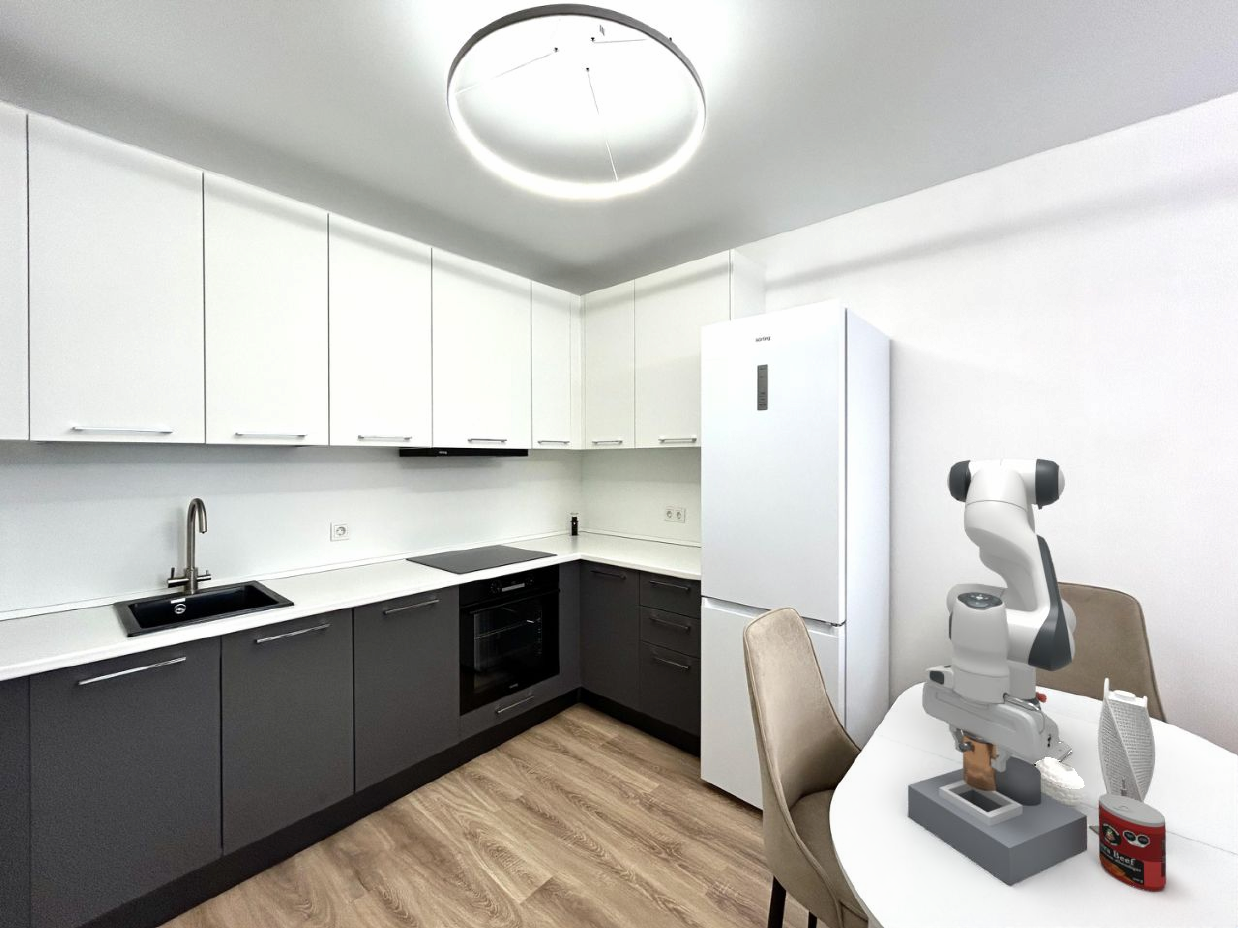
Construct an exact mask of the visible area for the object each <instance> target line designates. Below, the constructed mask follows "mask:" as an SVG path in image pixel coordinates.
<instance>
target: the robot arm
mask: <svg viewBox="0 0 1238 928" xmlns="http://www.w3.org/2000/svg"><path fill="white" fill-rule="evenodd" d="M949 469H950V470H949V473H948V474H947V479H946V484H947V488H948V490H949V494H950V496H951V497H952V498H953V499H955V500H956V501H959V502H961V503H964V504H965V505H964V513H963V514H964V515H963V525H964V527H963V528H964V532H965V534H966V536H967V538H968V539H969V540H970V541H971V542H972V543H973V544H974V545H975V546H977V547H978V550H979V552H978V554H979V555H978V556H979V559H980V561H981V563H982V564H983V565H984V566H985V567H986V568H987V569H988V570H990V571H992V572H994V573H995V574H998V575H999V576H1000V577H1001V578H1002V579H1003V580H1004V582H1005V583H1006V587H1002V586H1001V587H1000V586H995V585H989V584H982V583H957V584H955V585H954V586H953V587H951V588H950V590H949V591H948V593H947V595H946V600H945V601H946V607H947V610H948V612H949V616H948V617H949V618H948V639H950V641H951V644H952V647H953V654H952V657H951V660H950V664H945V665H936V666H932V667H928V668H926V669H925V670H924V676H925V678H926V680H925V682H924V683H923V686H922V687H923V688H922V696H921V698H922V699H921V701H922V702H921V703H922V708H923V710H924V712H925V714H927V715H929V716H930V717H933V718H935V719H937V720H940V721H942V722H944V723H946V724H947V725H948V731H949V732H950V734H951V736H952V738H953V740H954V748H955V750H956V751H957V752H959V753H962V754H963V752H962V751H961V750H960V749H959V744H960V743H963V733H962V730H964V731H966V732H969V733H971V734H973V735H975V736H977V737H979V738H982V739H984V740H985V741H987V742H989V743H991V744H993V745H995V746H996V754H1000V755H999V757H995V758H991V763H992V764H991V767H992V768H993V769H995V770H997V771H999V772H1003V771H1005V769H1006V761H1007V760H1008V759H1009V758H1010V756H1012V757H1016V758H1019V759H1022V760H1024V761H1026V762H1028V763H1030V764H1032V765H1034V764H1035V763H1036V762H1037V761H1039V760H1042V759H1044V758H1045V757H1051V758H1055V759H1057V760H1062V761H1063V760H1064V759H1065V758H1066V757H1067V756H1068V753H1069V752H1070V751H1071V750H1072V751H1073V748H1072V746H1070V744H1068V743H1066V742H1065V741H1063V740H1061V739H1060V731H1059V725H1058V724H1057V723H1056V722H1055V721H1054V720H1053V719H1052V718H1051V717H1049V716H1048V715H1047V714H1046V713H1045V712H1044V711H1043V710H1042V707H1041V703H1043V704H1045V703H1046V702H1047V699H1048V697H1047V695H1046V694H1044V693H1041V692H1038V691H1037V690H1036V689H1037V688H1036V684H1037V678H1036V677H1037V676H1036V675H1037V672H1036V671H1037V669H1036V668H1038V669H1041V670H1045V671H1047V672H1054V671H1058V670H1061V669H1063V668H1066V666H1068V665H1071V663H1073V660H1074V657H1075V653H1076V643H1075V639H1074V636H1073V635H1074V631H1075V630H1076V628H1077V618H1076V614H1075V612H1074V609H1073V608H1072V607H1071V605H1070V604H1069V603H1068V602H1067V601H1066V600H1064V599H1063V598H1062V594H1061V591H1060V586H1059V583H1058V578H1057V574H1056V569H1055V568H1056V567H1055V564H1054V562H1053V558H1052V554H1051V551H1050V547H1049V545H1048V543H1047V541H1046V538H1045V537H1043V536H1041V535H1039V534H1037V533H1036V523H1035V522H1036V521H1035V514H1034V508H1033V505H1036V506H1037V508H1038V510H1042V509H1043V507H1045V506H1050V505H1052V504H1054V503H1056V502H1057V501H1058V500H1059V499H1060V497H1061V495H1062V494H1063V492H1064V490H1065V486H1066V485H1065V484H1066V481H1065V480H1066V479H1065V475H1064V473H1063V471H1062V469H1061V468H1060V465H1059V464H1058V463H1056V462H1055V461H1054V460H1049V459H1044V458H1043V459H1042V458H1036V459H1028V458H1014V457H1013V458H1012V457H1011V458H1010V457H1005V458H1003V457H1002V458H994V459H979V460H978V459H977V460H972V461H971V460H970V459H968V460H961V461H957V462H955V464H953V465H952V466H951V467H950V468H949ZM1059 742H1061V743H1059ZM1066 755H1067V756H1066ZM1065 756H1066V757H1065ZM1064 757H1065V758H1064ZM1063 758H1064V759H1063ZM1034 766H1035V765H1034Z"/></svg>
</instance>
